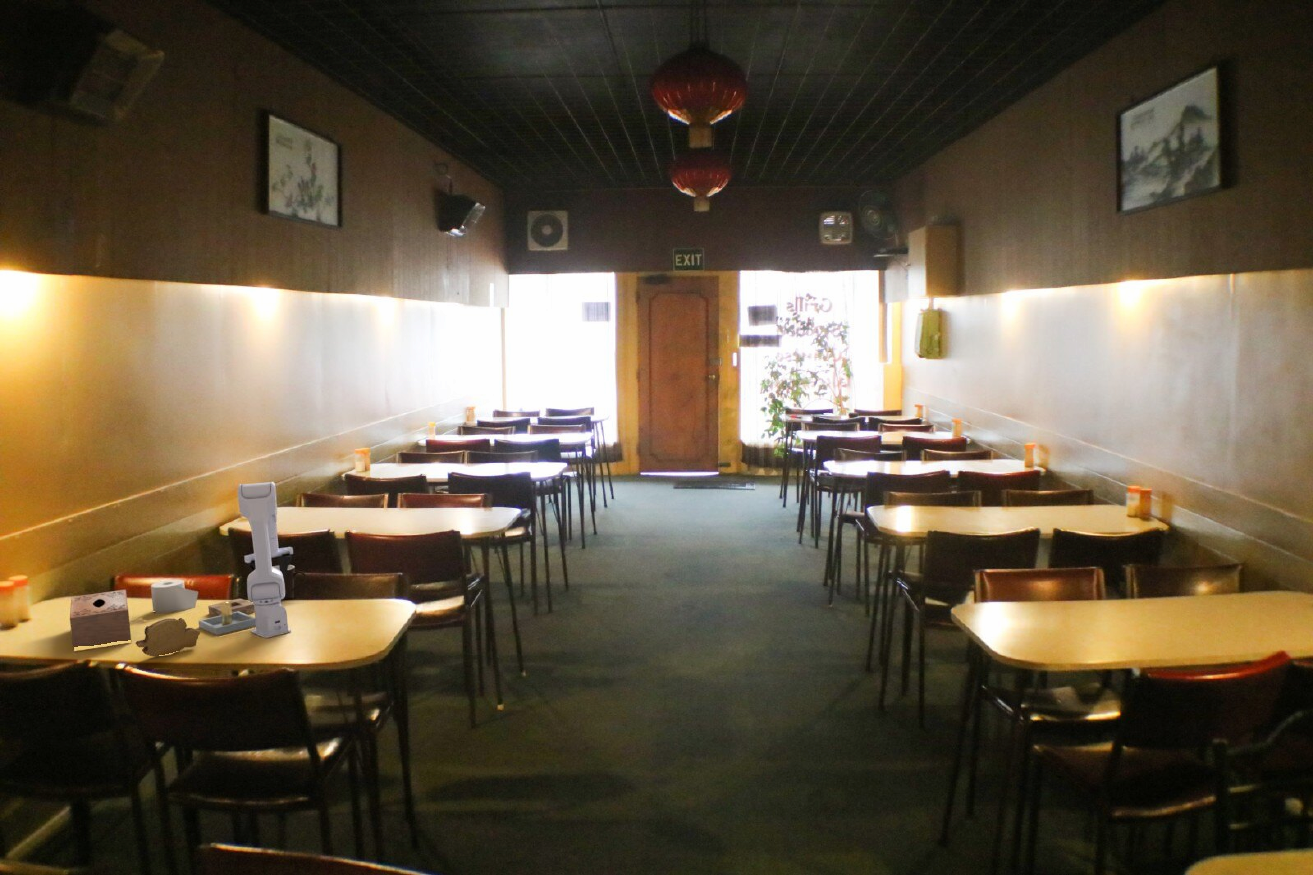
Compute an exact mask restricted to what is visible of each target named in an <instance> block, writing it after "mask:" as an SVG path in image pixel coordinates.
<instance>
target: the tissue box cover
mask: <svg viewBox="0 0 1313 875" xmlns="http://www.w3.org/2000/svg"><path fill="white" fill-rule="evenodd" d="M70 600H71V601H70V613H69V622H70V623H69V624H70V631H71V633H70V634H71V642H72V648H73V647H78V646H94V645H101V644H107V643H111V642H117V641H128V640H131V641H132V635H131V625H130V616H129V615H130V614H129V607H128V597H127V590H126V589H120V590H114V591H113V590H112V591H105V592H100V593H99V592H98V593H92V594H90V593H89V594H83V595H78V596H77V595H75V596H71V599H70Z"/></svg>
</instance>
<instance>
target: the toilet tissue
mask: <svg viewBox="0 0 1313 875" xmlns="http://www.w3.org/2000/svg"><path fill="white" fill-rule="evenodd" d="M150 591H151V602H152V612H153V611H155V612H157V613H158V614H167V613H173V612H180V611H185V610H189V609H190V610H191V609H194V608H196V607H197V600H198V596H199V591H197V590H191V589H188V588H185V581H184V580H182V579H167V580H162V581H161V580H160V581H157V582H154V583H152V584H151V585H150Z"/></svg>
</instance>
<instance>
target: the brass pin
mask: <svg viewBox="0 0 1313 875" xmlns="http://www.w3.org/2000/svg"><path fill="white" fill-rule="evenodd" d="M231 601H232V600H225V601H221V602H219V603H220V608H221V619H222V626H224V625H228V624H232V623H233V617H232V606H231Z"/></svg>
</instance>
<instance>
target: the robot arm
mask: <svg viewBox="0 0 1313 875" xmlns="http://www.w3.org/2000/svg"><path fill="white" fill-rule="evenodd" d="M276 486H277V485H276V483H275V482H274V481H268V482H258V483H257V482H256V483H245V484H244V483H239V485H238V486H237V501H238V507H239V512H240V514H241V515H240V516H241V517H242V518H245V519H247V520H248V523H249V525H250V530H251V538H252V547H253V553H250V554H247V555H244V556H243V557H244V563H246V564H247V566H248V568H249V569H250V570H251V572H250V573H249V574H248V576H247V579H246V581H247V582H246V591H247V599H248V602H251V603H253V605H254V610H255V612H254V618H255V622H256V626H255V629H251V630H250V633H252V634H254V635H256V636H259V637H262V638H264V639H268V638H271V637H275V636H279V635H283V634H287V633H291V632H292V629H290V628H289V626H288V625H289V624H288V613H287V609H286V607H284V606H283V604H282V602H281V601H282V600H281V599H283V598H284V597H285V585H284V579H286V573H287V569H288V566H289V565H290V563H291V560H292V558H293V557H292V555H293V554H294V549H293V547H291V546H288V547H287V546H286V547H280V548H279V541H278V540H279V539H278V538H279V537H278V527H277V525H278V524H277V520H278V517H277V515H278V504H277V488H276ZM272 558H277V562H278V566H279V568H280V571H279V570H278V569H276V568H274V567H273V566H272V565H273V564H272V563H273V562H272Z"/></svg>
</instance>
